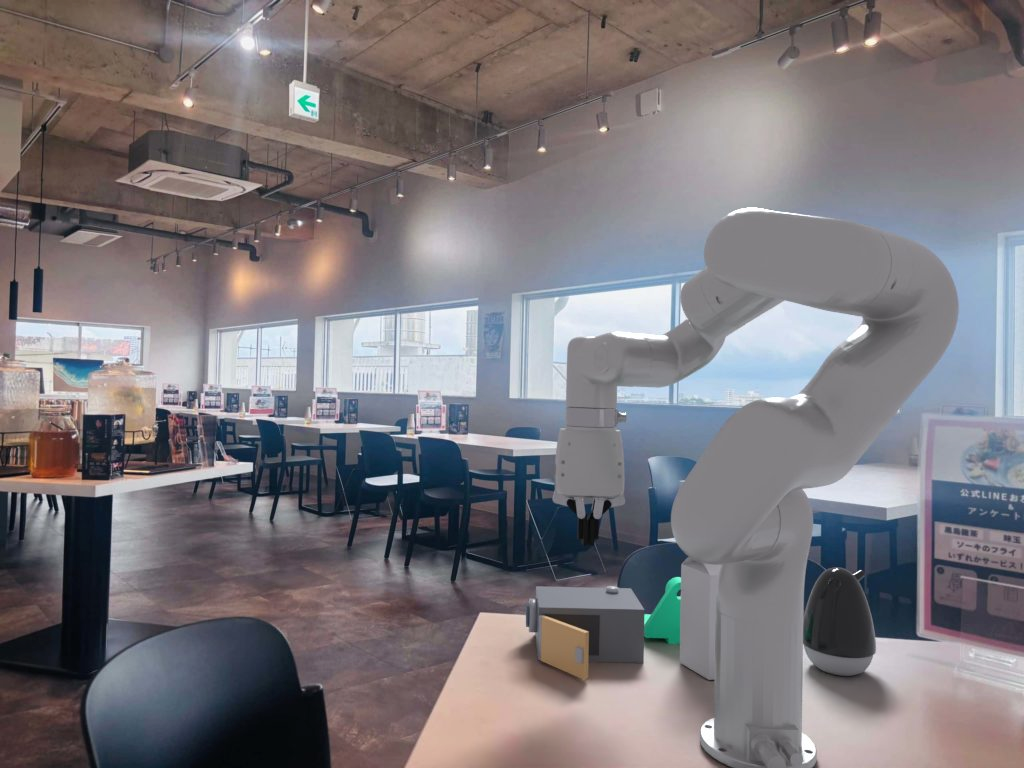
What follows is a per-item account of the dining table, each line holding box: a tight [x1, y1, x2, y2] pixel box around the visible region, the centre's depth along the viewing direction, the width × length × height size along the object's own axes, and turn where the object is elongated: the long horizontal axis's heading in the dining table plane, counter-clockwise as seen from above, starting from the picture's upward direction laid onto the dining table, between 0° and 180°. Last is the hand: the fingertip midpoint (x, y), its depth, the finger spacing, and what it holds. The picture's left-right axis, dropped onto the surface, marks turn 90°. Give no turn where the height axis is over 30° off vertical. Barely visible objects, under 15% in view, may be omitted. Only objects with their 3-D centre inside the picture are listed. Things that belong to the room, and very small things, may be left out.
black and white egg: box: [803, 566, 877, 677], centre depth 106 cm, size 10×10×15 cm
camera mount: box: [644, 576, 681, 645], centre depth 119 cm, size 12×8×10 cm, turn 91°
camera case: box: [525, 585, 645, 664], centre depth 112 cm, size 12×18×9 cm
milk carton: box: [679, 555, 722, 681], centre depth 105 cm, size 7×7×19 cm
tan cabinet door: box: [537, 615, 589, 680], centre depth 102 cm, size 1×10×6 cm, turn 40°
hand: (587, 544), depth 104 cm, fingers closed
